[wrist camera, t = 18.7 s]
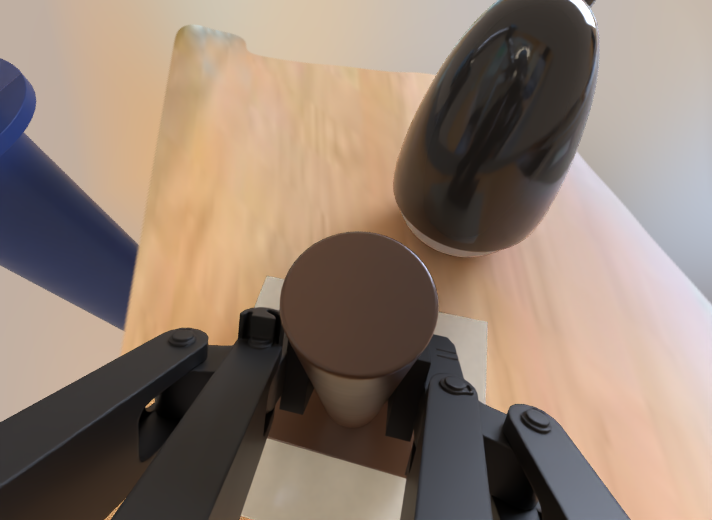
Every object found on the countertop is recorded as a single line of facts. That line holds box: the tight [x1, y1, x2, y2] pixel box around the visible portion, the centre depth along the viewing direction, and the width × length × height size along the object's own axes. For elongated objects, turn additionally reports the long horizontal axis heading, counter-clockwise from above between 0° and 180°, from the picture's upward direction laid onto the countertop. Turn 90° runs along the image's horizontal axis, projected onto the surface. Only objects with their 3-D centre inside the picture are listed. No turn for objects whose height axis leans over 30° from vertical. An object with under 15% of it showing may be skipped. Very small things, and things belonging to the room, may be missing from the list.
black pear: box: [393, 0, 599, 257], centre depth 20 cm, size 10×10×15 cm
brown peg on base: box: [267, 232, 439, 479], centre depth 12 cm, size 7×5×14 cm
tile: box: [241, 276, 488, 520], centre depth 19 cm, size 14×12×2 cm
